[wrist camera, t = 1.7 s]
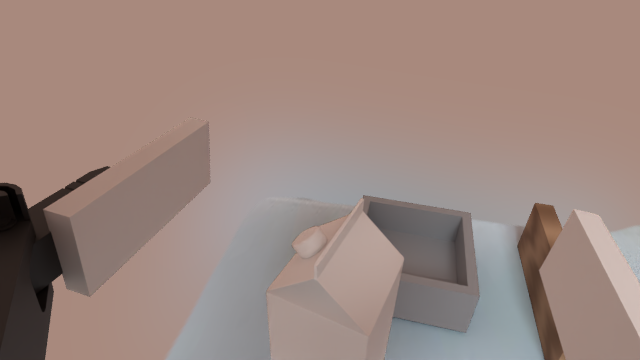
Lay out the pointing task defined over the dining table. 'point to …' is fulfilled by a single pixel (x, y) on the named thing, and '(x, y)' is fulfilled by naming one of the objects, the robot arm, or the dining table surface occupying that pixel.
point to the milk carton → (335, 293)
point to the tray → (430, 261)
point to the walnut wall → (533, 254)
